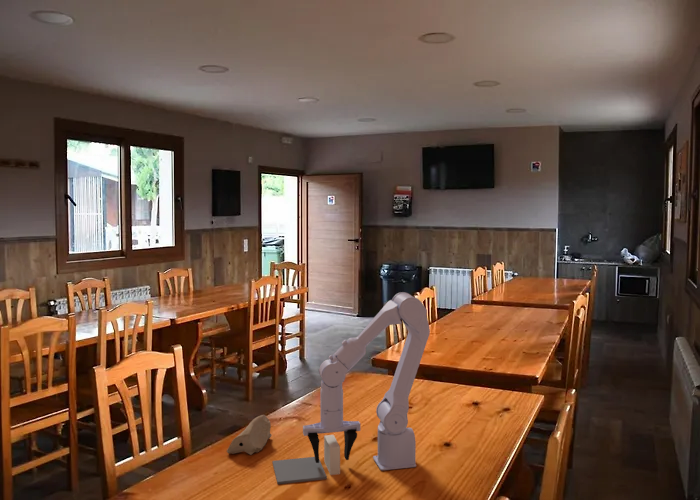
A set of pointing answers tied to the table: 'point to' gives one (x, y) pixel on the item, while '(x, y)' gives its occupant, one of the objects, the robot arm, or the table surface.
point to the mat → (298, 470)
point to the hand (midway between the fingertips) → (331, 459)
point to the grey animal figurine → (252, 437)
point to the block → (332, 454)
